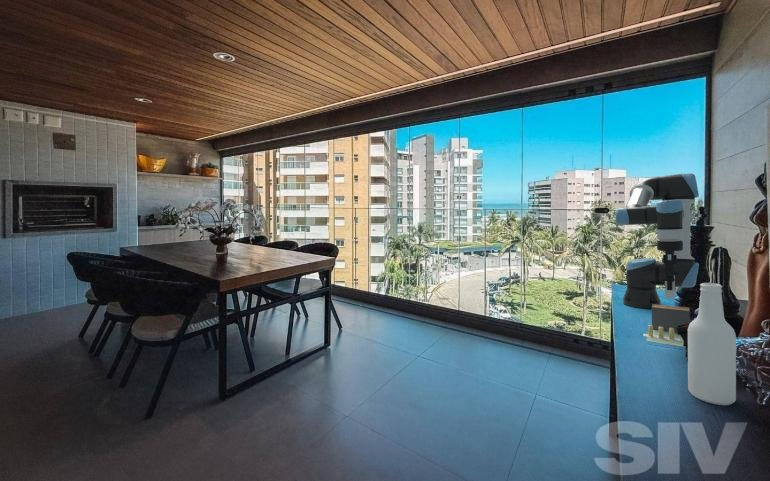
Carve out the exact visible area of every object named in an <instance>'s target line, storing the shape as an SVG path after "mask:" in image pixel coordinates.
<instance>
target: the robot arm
mask: <svg viewBox="0 0 770 481" xmlns="http://www.w3.org/2000/svg"><path fill="white" fill-rule="evenodd" d="M699 197H700V194H699V188H698V183H697V179H696V175H695V174H694V173H691V172H689V173H688V172H687V173H677V174H669V175H668V174H667V175H662V176H661V175H660V176H652V177H649V178H645V179H643V180H641V181H639V182H638V183H636V184H635V185H633V187H632V188H631V189H630V191H629V198H628V201H627V203H626V205H625V206H624V207H619V208H617V209H616V210H615V223H616V224H617V225H618V226H619V225H620V226H622V225H623V226H631V225H633V226H636V225H637V226H638V225H656V231H655V232H654V234H655V235H656V239H657V241H656V249H657V251H660V252H665V254H662V257H661V261H657V259H656V258H653V257H652V258H651V257H649V258H647V257H645V258H636V259H631V260H628V261H627V262H626V268H625V271H626V290H625V292H624V294H623V298H622V304H624V305H626V306H629V307H633V308H640V309H652V304H656V305H662V301H661V299H660V297H659V294H658V292H657V286H661V287H664V298H665V299H670V300H675V297H676V296H675V294H676V288H693V287H695V285H696V283H697V277H698V274H699V268H700V267H699V266H700V264H699V263H698V262H696V261H695V260H696V259H695V258H694V257H693V256H691V205H692V204H693V203H695V200H696V199H697V198H699ZM650 201H657V202H656V205H652V206H651V205H650V206H648V205H649V203H650Z"/></svg>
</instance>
